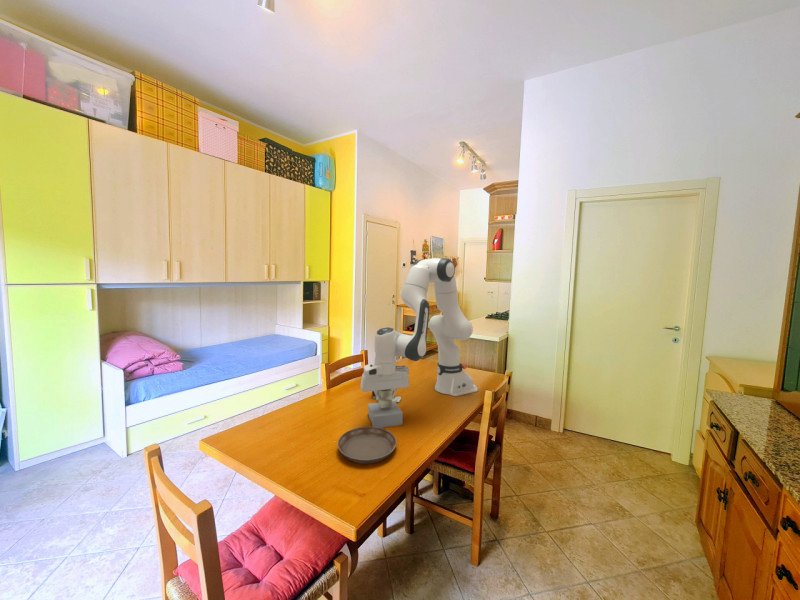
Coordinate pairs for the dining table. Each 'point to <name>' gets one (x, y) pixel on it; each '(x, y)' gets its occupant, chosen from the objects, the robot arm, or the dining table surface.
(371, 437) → the plant saucer
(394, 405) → the plinth
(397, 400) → the spoon
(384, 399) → the sage block
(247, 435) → the dining table surface
